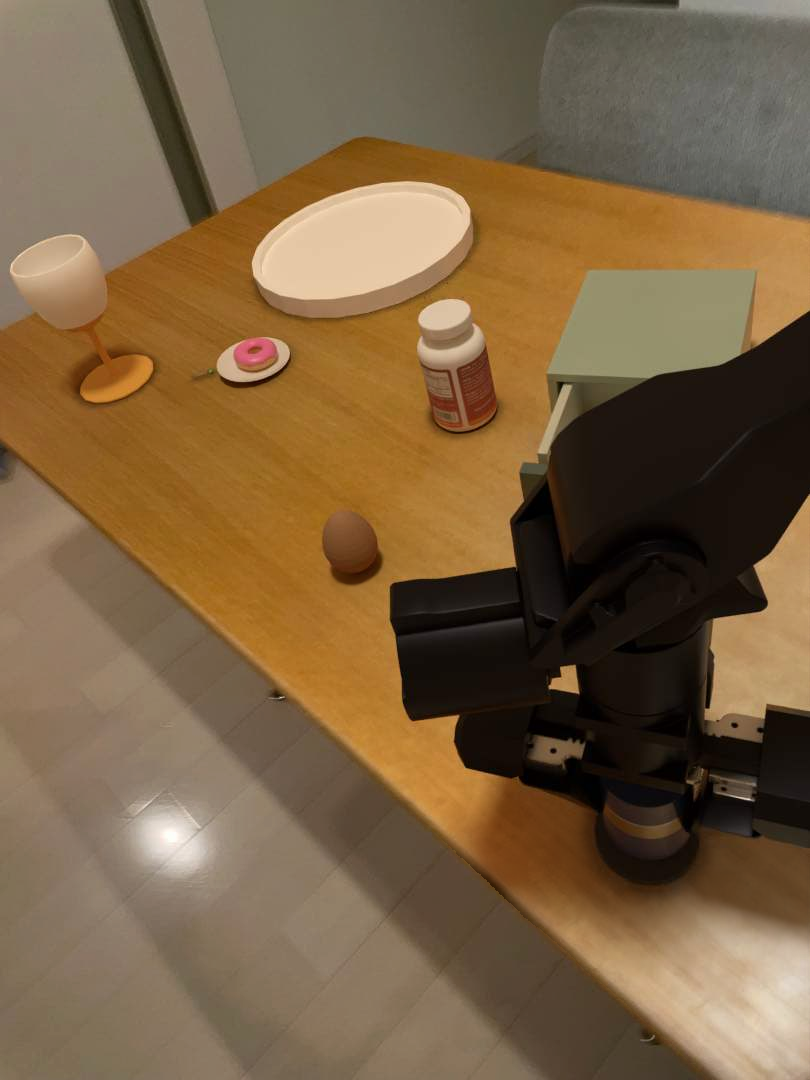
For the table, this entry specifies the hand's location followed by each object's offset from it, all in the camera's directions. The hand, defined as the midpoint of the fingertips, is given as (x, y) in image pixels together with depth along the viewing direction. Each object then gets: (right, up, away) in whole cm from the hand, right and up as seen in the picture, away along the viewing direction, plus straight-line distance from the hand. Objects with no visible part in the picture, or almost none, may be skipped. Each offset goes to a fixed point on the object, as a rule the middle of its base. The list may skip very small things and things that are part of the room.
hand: (646, 816), depth 49 cm
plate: (-19, +52, +59) cm, 81 cm away
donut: (-32, +35, +47) cm, 67 cm away
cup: (-48, +35, +51) cm, 78 cm away
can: (0, 0, +1) cm, 1 cm away
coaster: (0, -2, +2) cm, 3 cm away
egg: (-18, +14, +22) cm, 32 cm away
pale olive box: (+9, +29, +28) cm, 42 cm away
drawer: (+4, +20, +20) cm, 28 cm away
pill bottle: (-8, +28, +33) cm, 44 cm away
